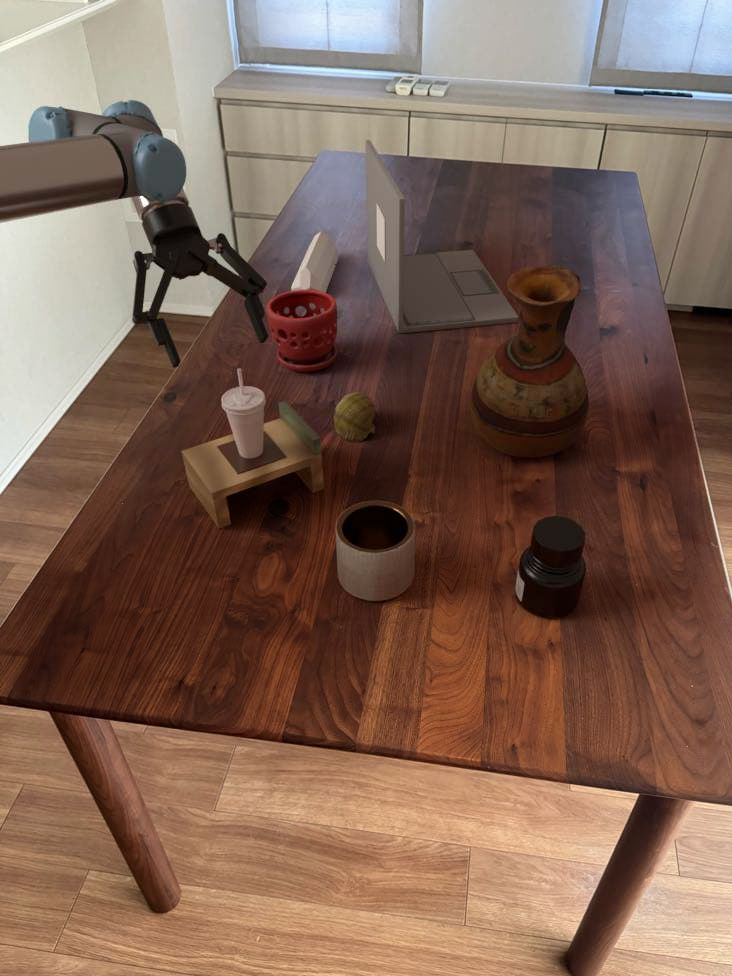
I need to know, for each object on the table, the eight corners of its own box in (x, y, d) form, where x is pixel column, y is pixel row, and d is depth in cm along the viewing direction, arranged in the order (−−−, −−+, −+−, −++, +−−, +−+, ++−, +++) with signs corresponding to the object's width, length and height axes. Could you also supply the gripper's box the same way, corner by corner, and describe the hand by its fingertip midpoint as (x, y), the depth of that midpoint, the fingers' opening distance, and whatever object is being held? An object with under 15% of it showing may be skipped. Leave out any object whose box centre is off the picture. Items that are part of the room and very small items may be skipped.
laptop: (518, 322, 168) (534, 190, 149) (397, 334, 163) (398, 199, 145) (472, 255, 193) (481, 134, 174) (367, 263, 188) (364, 140, 170)
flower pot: (346, 346, 160) (343, 290, 151) (330, 380, 150) (326, 322, 142) (283, 340, 161) (277, 284, 153) (264, 373, 152) (256, 316, 144)
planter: (341, 608, 108) (338, 557, 102) (334, 553, 116) (331, 503, 109) (420, 599, 109) (422, 549, 103) (407, 545, 117) (408, 496, 111)
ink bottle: (538, 563, 115) (549, 500, 107) (591, 592, 111) (608, 528, 103) (500, 601, 109) (509, 537, 101) (555, 632, 105) (569, 569, 97)
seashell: (369, 455, 140) (396, 420, 137) (345, 448, 134) (373, 411, 131) (338, 422, 144) (364, 387, 142) (314, 413, 138) (340, 377, 136)
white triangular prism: (330, 287, 170) (346, 241, 188) (300, 269, 168) (320, 225, 186) (315, 313, 175) (332, 267, 192) (285, 297, 173) (306, 251, 190)
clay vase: (450, 449, 135) (461, 281, 114) (492, 391, 148) (509, 232, 128) (561, 481, 129) (594, 310, 108) (594, 418, 142) (629, 255, 122)
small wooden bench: (218, 528, 119) (208, 476, 113) (189, 486, 127) (177, 434, 120) (324, 488, 127) (320, 437, 120) (290, 450, 134) (285, 400, 127)
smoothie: (271, 437, 125) (261, 358, 115) (273, 461, 120) (262, 381, 110) (229, 440, 124) (216, 361, 114) (230, 465, 119) (216, 385, 110)
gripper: (240, 210, 123) (291, 338, 124) (78, 243, 113) (136, 383, 114) (250, 185, 116) (305, 321, 117) (79, 218, 106) (140, 367, 107)
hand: (221, 352), depth 116 cm, fingers open, 13 cm apart
